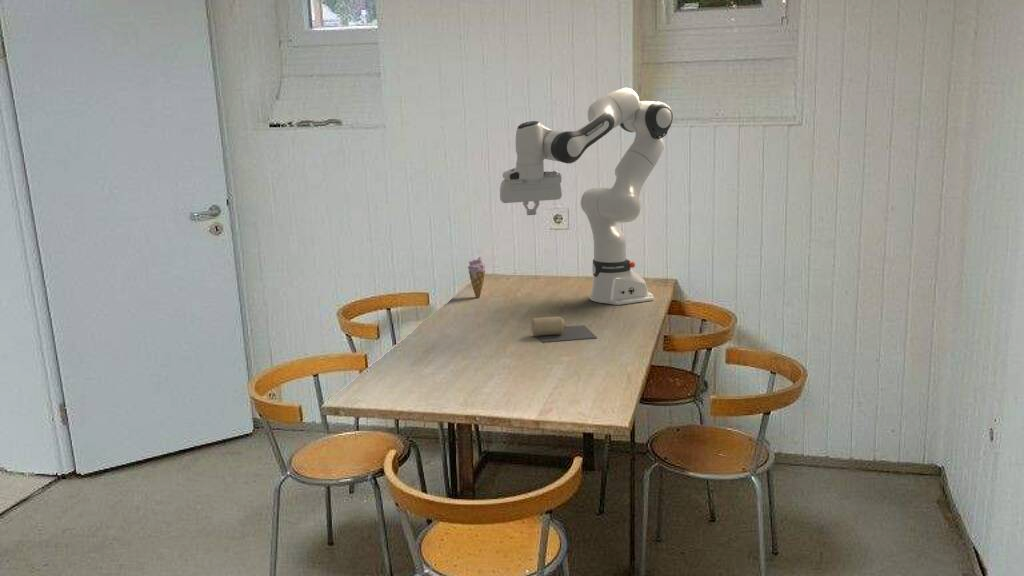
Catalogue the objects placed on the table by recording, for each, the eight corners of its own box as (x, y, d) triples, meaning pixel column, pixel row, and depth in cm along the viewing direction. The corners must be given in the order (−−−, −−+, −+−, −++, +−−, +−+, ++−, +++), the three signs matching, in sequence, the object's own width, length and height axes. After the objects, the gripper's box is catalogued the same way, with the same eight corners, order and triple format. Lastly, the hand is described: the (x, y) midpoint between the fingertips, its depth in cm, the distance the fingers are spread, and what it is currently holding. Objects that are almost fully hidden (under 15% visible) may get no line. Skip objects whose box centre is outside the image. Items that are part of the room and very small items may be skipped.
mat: (584, 325, 288) (584, 325, 288) (597, 338, 275) (597, 337, 275) (532, 330, 285) (532, 329, 285) (542, 342, 272) (542, 341, 272)
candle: (534, 335, 274) (567, 333, 276) (533, 317, 275) (566, 315, 276) (532, 336, 280) (564, 334, 281) (530, 318, 280) (562, 316, 282)
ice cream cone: (485, 299, 324) (484, 258, 320) (468, 300, 324) (466, 259, 321) (486, 295, 330) (485, 255, 327) (469, 295, 331) (468, 255, 327)
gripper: (558, 169, 299) (559, 211, 303) (497, 173, 295) (499, 215, 299) (563, 171, 293) (564, 214, 297) (501, 175, 289) (503, 218, 293)
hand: (531, 214), depth 298 cm, fingers closed
